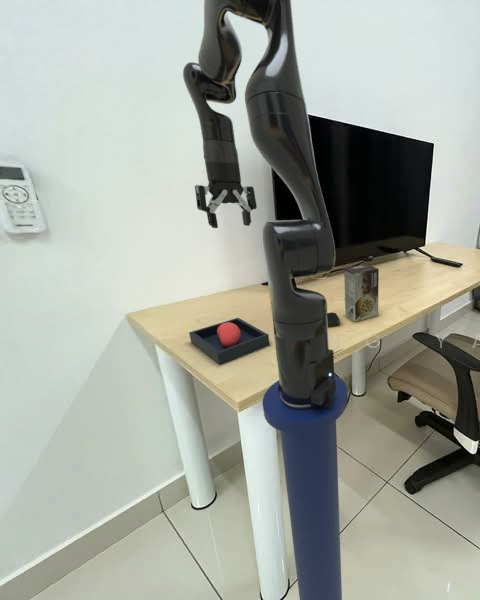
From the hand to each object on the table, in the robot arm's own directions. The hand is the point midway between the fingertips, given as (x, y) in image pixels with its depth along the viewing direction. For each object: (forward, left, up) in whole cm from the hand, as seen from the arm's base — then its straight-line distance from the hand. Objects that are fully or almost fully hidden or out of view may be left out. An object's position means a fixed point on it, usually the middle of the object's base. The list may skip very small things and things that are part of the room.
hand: (231, 226), depth 84 cm
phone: (-19, -8, -28) cm, 35 cm away
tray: (-8, +12, -28) cm, 32 cm away
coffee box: (-29, -20, -28) cm, 45 cm away
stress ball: (-8, +12, -28) cm, 31 cm away
